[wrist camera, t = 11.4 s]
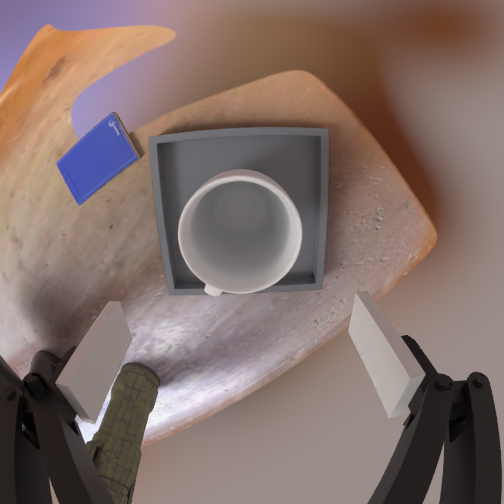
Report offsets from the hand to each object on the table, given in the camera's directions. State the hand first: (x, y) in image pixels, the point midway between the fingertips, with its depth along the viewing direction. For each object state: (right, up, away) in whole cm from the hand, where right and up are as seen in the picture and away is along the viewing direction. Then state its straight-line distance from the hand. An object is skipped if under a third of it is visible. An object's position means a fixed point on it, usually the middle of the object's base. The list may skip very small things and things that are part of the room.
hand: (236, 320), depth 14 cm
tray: (-1, +9, +22) cm, 24 cm away
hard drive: (-22, +17, +19) cm, 34 cm away
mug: (-1, +9, +22) cm, 23 cm away
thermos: (-22, -22, +35) cm, 47 cm away
